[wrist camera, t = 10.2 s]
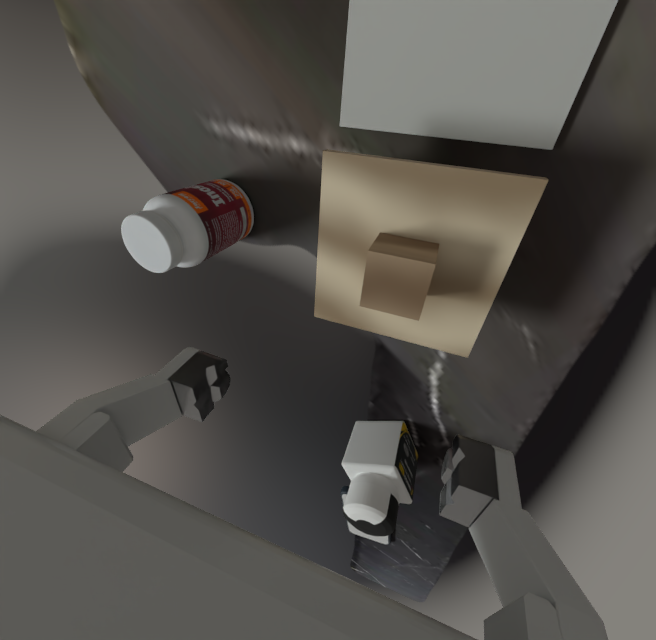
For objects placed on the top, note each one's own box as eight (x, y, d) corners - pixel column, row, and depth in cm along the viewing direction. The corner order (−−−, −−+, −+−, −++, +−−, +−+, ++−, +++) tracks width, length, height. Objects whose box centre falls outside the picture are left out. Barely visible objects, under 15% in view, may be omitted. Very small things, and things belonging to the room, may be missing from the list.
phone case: (392, 538, 61) (390, 496, 52) (391, 547, 60) (388, 506, 51) (349, 523, 64) (341, 482, 55) (347, 532, 63) (338, 490, 54)
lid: (327, 149, 20) (300, 157, 17) (545, 177, 17) (565, 194, 14) (317, 311, 28) (297, 339, 24) (467, 351, 25) (468, 389, 21)
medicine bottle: (419, 454, 43) (407, 549, 34) (371, 452, 47) (349, 537, 37) (404, 419, 40) (386, 512, 31) (355, 419, 44) (326, 503, 34)
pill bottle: (253, 181, 30) (169, 211, 21) (258, 242, 33) (188, 289, 25) (199, 174, 31) (100, 198, 23) (210, 233, 35) (128, 274, 26)
